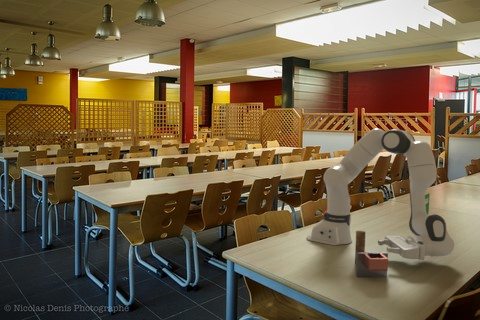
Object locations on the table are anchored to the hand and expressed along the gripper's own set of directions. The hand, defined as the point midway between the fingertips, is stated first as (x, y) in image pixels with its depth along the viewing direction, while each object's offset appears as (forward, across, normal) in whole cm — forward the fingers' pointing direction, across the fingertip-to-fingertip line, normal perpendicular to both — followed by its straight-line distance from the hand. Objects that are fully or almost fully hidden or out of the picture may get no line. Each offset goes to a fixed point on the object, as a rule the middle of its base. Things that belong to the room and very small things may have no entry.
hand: (382, 246), depth 168 cm
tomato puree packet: (-45, -52, +8) cm, 69 cm away
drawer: (+10, +17, +8) cm, 21 cm away
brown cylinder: (+10, 0, +8) cm, 12 cm away
